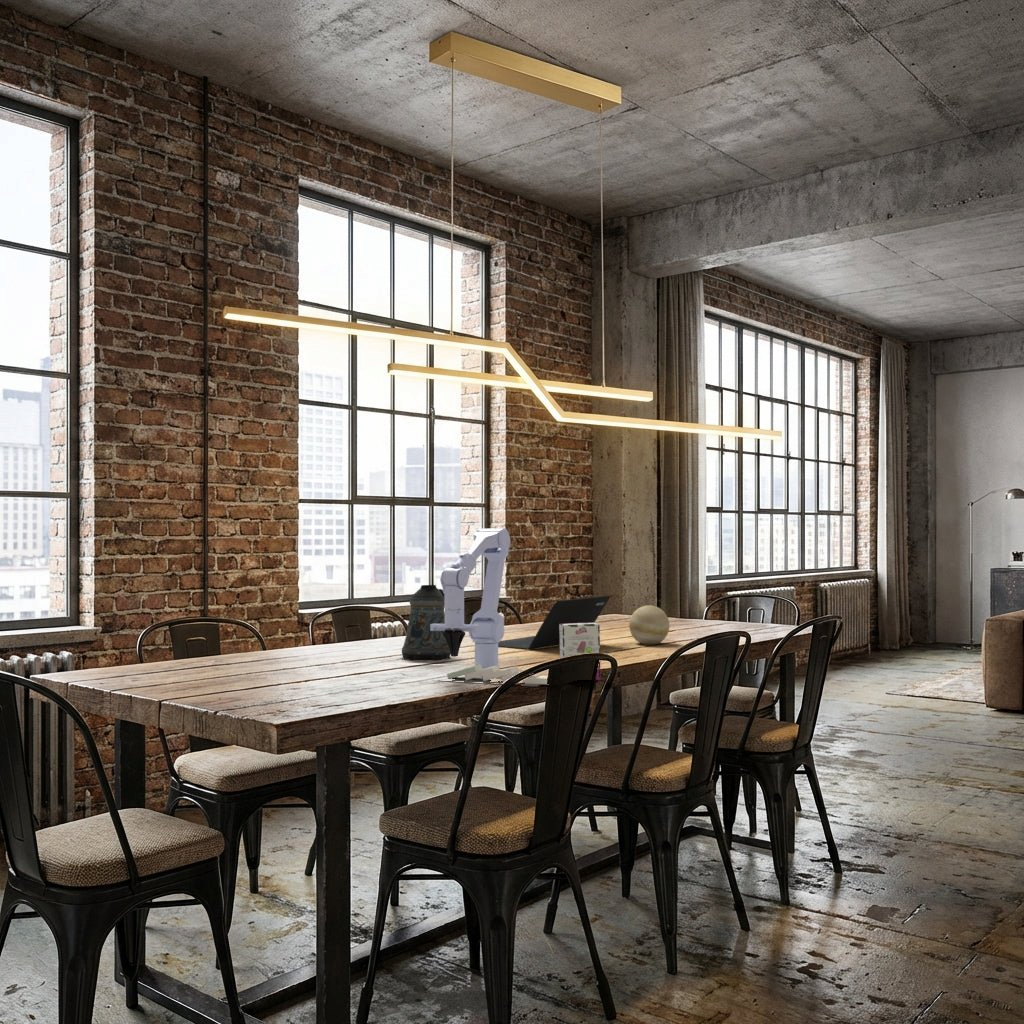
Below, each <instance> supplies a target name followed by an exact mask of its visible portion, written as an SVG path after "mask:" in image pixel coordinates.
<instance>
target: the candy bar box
mask: <svg viewBox="0 0 1024 1024" xmlns="http://www.w3.org/2000/svg"><path fill="white" fill-rule="evenodd" d="M600 627H601V626H600V623H599V622H595V623H571V624H559V630H560V645H559V659H560V658H562V657H568V656H574V655H580V654H589V653H600V654H601V636H600V633H601V632H600ZM595 681H601V661H600V662H599V666H598V673H597V678H596V680H595Z"/></svg>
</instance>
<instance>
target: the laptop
mask: <svg viewBox="0 0 1024 1024" xmlns="http://www.w3.org/2000/svg"><path fill="white" fill-rule="evenodd" d="M610 597H611V595H602V596H601V595H600V596H590V597H589V596H588V597H581V598H573V599H572V598H571V599H570V598H569V599H562V600H557V601H556V602H555V603H553V605H552V606H551V608H550V610H549V611H548V613H547V615H546V617H545V619H544V620H543V622H542V624H541V626H540V627H539V629H537V632H536V634H535V635H532V636H525V637H519V638H513V639H512V638H511V639H505V640H501V641H500V642H498V648H503V649H513V650H514V649H516V650H524V651H530V650H535V649H543V648H549V647H556V646H560V630H559V624H571V623H596V621H597V619H598V618H599V616H600V614H601V613H602V612H603V609H604V607H605V606H606V605H607V604H608V601H609V600H610Z"/></svg>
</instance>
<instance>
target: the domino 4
mask: <svg viewBox="0 0 1024 1024" xmlns="http://www.w3.org/2000/svg"><path fill="white" fill-rule="evenodd" d="M547 676H548V675H533V676H530V677H528V678H527V679H525V680H523V681H522V683H523V682H525V683H529V684H542V685H548V684H547Z"/></svg>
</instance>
